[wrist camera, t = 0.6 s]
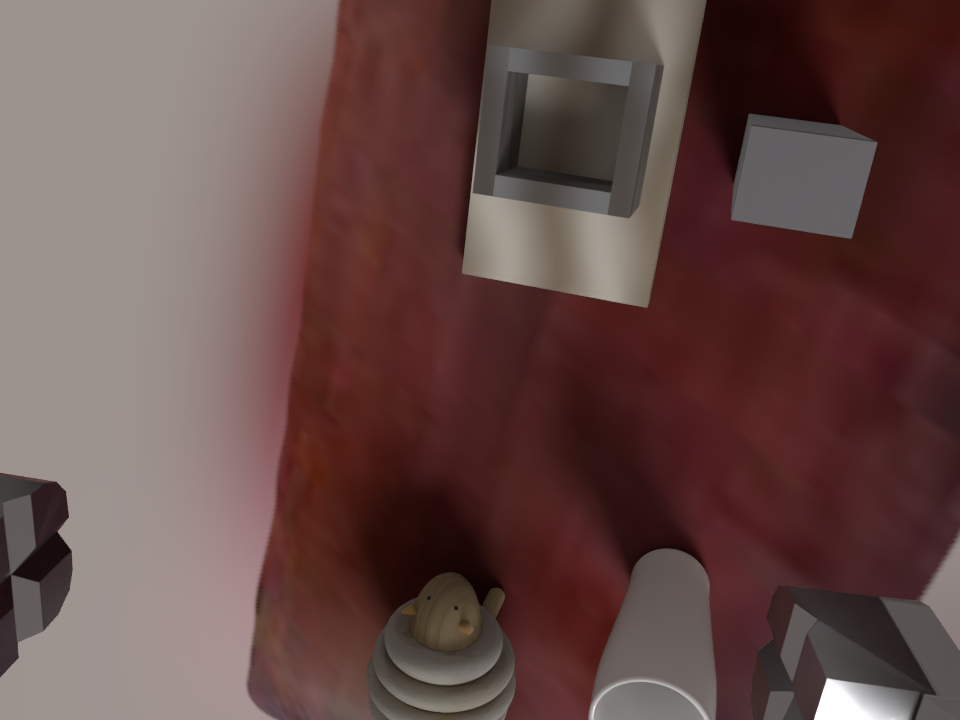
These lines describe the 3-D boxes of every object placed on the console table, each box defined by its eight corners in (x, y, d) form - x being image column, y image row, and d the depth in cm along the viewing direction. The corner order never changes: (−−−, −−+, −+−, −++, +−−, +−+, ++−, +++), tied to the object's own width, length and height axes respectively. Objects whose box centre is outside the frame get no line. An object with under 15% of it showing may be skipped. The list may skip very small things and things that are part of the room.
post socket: (715, -47, 46) (711, -66, 40) (649, 301, 53) (638, 329, 47) (505, -65, 49) (473, -85, 43) (468, 268, 56) (436, 291, 50)
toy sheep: (538, 549, 61) (497, 643, 51) (526, 735, 66) (488, 853, 56) (401, 524, 64) (338, 608, 54) (401, 705, 69) (343, 812, 59)
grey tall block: (840, 125, 47) (877, 142, 34) (822, 196, 48) (851, 238, 36) (748, 113, 48) (751, 125, 35) (733, 183, 50) (730, 219, 37)
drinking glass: (658, 634, 60) (634, 797, 47) (602, 561, 60) (561, 704, 46) (741, 595, 57) (741, 757, 44) (683, 518, 57) (665, 657, 43)
